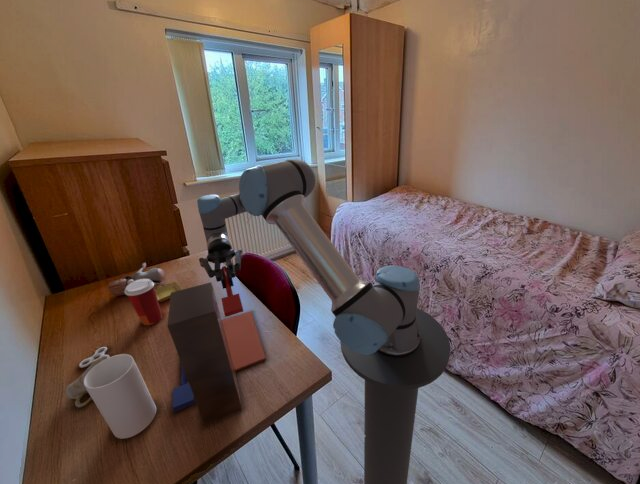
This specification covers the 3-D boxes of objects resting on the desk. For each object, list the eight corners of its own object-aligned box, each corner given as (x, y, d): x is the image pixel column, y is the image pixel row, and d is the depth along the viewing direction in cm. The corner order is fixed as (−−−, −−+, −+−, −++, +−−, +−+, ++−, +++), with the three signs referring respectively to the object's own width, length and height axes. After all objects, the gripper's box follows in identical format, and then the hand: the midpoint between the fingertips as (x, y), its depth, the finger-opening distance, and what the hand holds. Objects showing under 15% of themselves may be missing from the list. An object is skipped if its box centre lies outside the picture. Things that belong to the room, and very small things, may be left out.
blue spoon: (176, 353, 82) (175, 349, 81) (193, 347, 84) (192, 343, 83) (174, 412, 66) (172, 408, 66) (195, 403, 68) (193, 399, 68)
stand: (235, 372, 76) (211, 281, 64) (242, 408, 67) (215, 311, 55) (202, 385, 72) (170, 292, 60) (204, 425, 63) (167, 325, 51)
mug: (66, 393, 71) (77, 353, 72) (115, 388, 77) (125, 351, 77) (58, 411, 65) (70, 367, 66) (112, 404, 71) (122, 364, 71)
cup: (123, 406, 68) (96, 358, 61) (161, 398, 69) (140, 350, 63) (105, 443, 60) (73, 393, 54) (148, 432, 62) (123, 382, 56)
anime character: (172, 274, 108) (115, 297, 96) (177, 288, 110) (122, 312, 98) (150, 254, 123) (98, 272, 111) (154, 267, 125) (104, 285, 113)
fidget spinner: (77, 369, 77) (76, 367, 77) (90, 351, 83) (89, 349, 83) (107, 363, 79) (106, 361, 79) (117, 345, 85) (116, 343, 84)
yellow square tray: (151, 295, 107) (150, 290, 106) (176, 285, 113) (175, 280, 112) (158, 305, 101) (156, 300, 101) (184, 294, 107) (183, 289, 106)
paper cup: (167, 309, 99) (155, 275, 94) (163, 323, 93) (149, 288, 87) (141, 315, 97) (127, 280, 91) (135, 330, 90) (119, 294, 85)
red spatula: (216, 270, 86) (215, 267, 85) (231, 267, 88) (231, 263, 87) (225, 317, 72) (224, 313, 71) (243, 311, 73) (242, 307, 73)
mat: (251, 312, 97) (251, 311, 97) (265, 359, 79) (265, 357, 79) (213, 324, 92) (212, 323, 92) (219, 377, 74) (218, 376, 74)
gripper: (243, 252, 102) (256, 287, 83) (199, 262, 96) (201, 302, 77) (239, 233, 99) (252, 264, 80) (193, 243, 93) (195, 279, 74)
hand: (227, 283), depth 79 cm, fingers closed on red spatula
